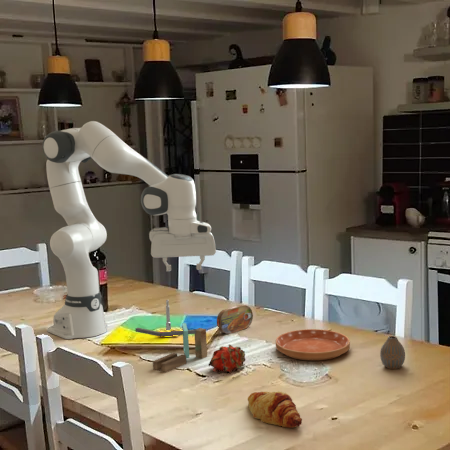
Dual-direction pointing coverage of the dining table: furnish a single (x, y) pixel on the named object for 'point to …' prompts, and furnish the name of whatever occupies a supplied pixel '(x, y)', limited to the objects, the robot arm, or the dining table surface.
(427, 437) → the dining table surface
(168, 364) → the slot block
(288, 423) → the croissant
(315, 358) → the saucer
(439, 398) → the dining table surface
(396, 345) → the vase
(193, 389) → the dining table surface
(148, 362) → the dining table surface
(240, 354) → the dragon fruit
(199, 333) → the curved rod stand
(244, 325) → the tin
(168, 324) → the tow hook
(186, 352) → the square ring
